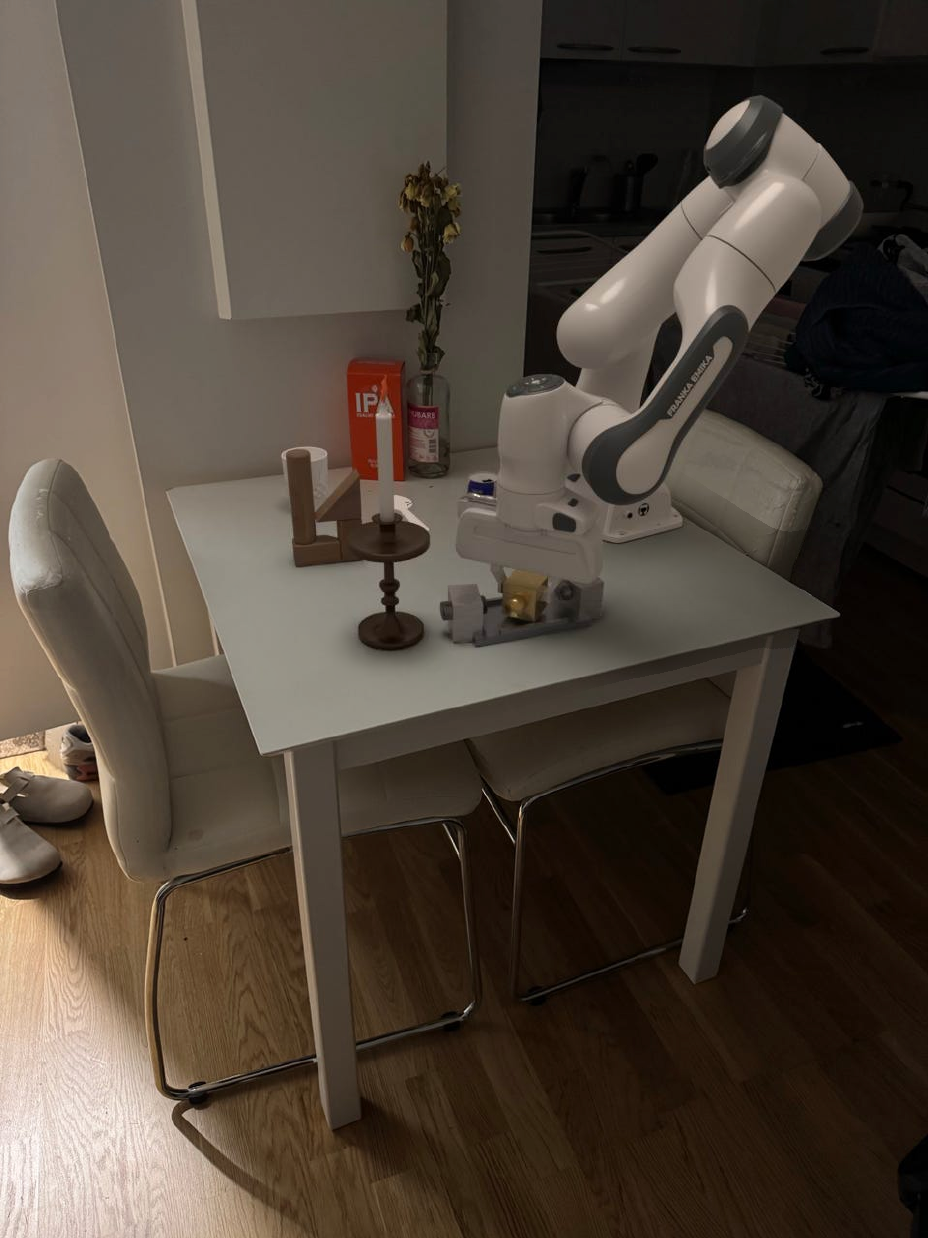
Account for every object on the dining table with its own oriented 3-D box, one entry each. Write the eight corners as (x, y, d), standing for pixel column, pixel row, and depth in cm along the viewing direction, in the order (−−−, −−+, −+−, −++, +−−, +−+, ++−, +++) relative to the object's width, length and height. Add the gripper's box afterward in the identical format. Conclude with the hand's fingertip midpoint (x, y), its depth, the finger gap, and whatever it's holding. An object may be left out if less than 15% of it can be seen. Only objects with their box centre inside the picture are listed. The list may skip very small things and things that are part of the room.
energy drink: (475, 555, 142) (477, 485, 136) (460, 542, 146) (461, 473, 140) (504, 548, 144) (507, 479, 138) (488, 536, 148) (490, 468, 142)
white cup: (339, 505, 160) (336, 451, 155) (310, 519, 154) (306, 464, 149) (306, 495, 163) (302, 443, 158) (277, 509, 157) (271, 455, 152)
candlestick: (385, 606, 127) (375, 360, 110) (446, 628, 122) (447, 373, 104) (334, 638, 119) (316, 378, 102) (397, 663, 114) (389, 394, 97)
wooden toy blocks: (364, 560, 140) (358, 451, 131) (296, 567, 137) (285, 457, 128) (360, 550, 143) (354, 443, 134) (293, 557, 141) (283, 449, 132)
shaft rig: (582, 594, 131) (585, 560, 128) (611, 623, 124) (614, 587, 121) (432, 618, 124) (432, 583, 121) (453, 651, 117) (453, 614, 114)
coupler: (520, 593, 127) (521, 563, 125) (551, 600, 125) (553, 570, 123) (496, 620, 120) (496, 589, 118) (528, 628, 118) (530, 597, 116)
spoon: (410, 536, 149) (410, 533, 149) (376, 499, 163) (376, 496, 163) (439, 532, 151) (439, 529, 150) (403, 495, 165) (403, 492, 165)
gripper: (447, 498, 116) (447, 590, 123) (596, 525, 109) (588, 622, 116) (467, 482, 121) (466, 572, 128) (611, 507, 114) (602, 602, 121)
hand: (525, 596), depth 122 cm, fingers closed on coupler, 5 cm apart
